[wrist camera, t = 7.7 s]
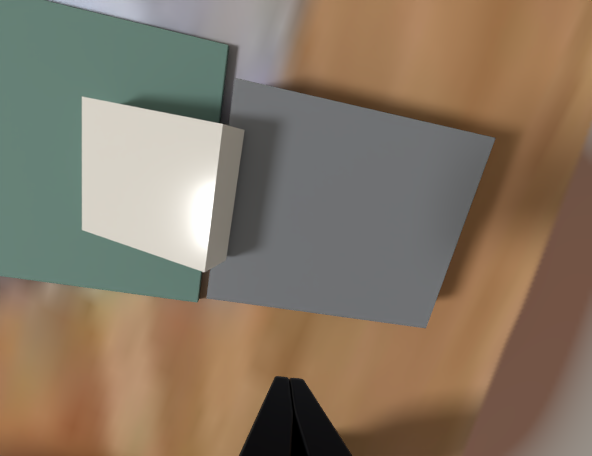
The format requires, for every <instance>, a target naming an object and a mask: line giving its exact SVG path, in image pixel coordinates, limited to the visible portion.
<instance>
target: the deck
mask: <svg viewBox="0 0 592 456" xmlns="http://www.w3.org/2000/svg"><path fill="white" fill-rule="evenodd" d="M229 126H232V127H236V128H239V129H243V130H245V131H244V138H243V145H242V152H241V159H240V166H239V173H238V180H237V187H236V194H235V201H234V208H233V215H232V222H231V229H230V236H229V243H228V250H227V257H226V260H225V261H224V262H222V263H220V264H218V265H217V266H215V267H213V268H211V269H210V275H209V283H208V291H207V298H208V299H216V300H223V301H230V302H238V303H245V304H252V305H260V306H267V307H274V308H282V309H289V310H296V311H304V312H311V313H318V314H325V315H333V316H340V317H347V318H355V319H362V320H369V321H377V322H384V323H391V324H399V325H406V326H413V327H421V328H426V326H427V324H428V321H429V318H430V316H431V313H432V310H433V307H434V305H435V302H436V299H437V296H438V294H439V291H440V288H441V285H442V283H443V280H444V277H445V275H446V272H447V269H448V266H449V264H450V261H451V258H452V255H453V253H454V250H455V247H456V245H457V242H458V239H459V236H460V234H461V231H462V228H463V225H464V223H465V220H466V217H467V214H468V212H469V209H470V206H471V204H472V201H473V198H474V195H475V193H476V190H477V187H478V184H479V182H480V179H481V176H482V174H483V171H484V168H485V165H486V163H487V160H488V157H489V154H490V152H491V149H492V146H493V143H494V141H495V138H494V137H489V136H485V135H481V134H476V133H472V132H468V131H463V130H459V129H455V128H450V127H446V126H442V125H437V124H433V123H428V122H424V121H420V120H415V119H411V118H407V117H402V116H398V115H394V114H389V113H385V112H381V111H376V110H372V109H368V108H363V107H359V106H355V105H350V104H346V103H342V102H337V101H333V100H329V99H324V98H320V97H316V96H311V95H307V94H302V93H298V92H294V91H289V90H285V89H281V88H276V87H272V86H268V85H263V84H259V83H255V82H250V81H246V80H242V79H237V78H235V79H234V87H233V94H232V102H231V110H230V118H229Z"/></svg>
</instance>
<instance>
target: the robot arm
mask: <svg viewBox="0 0 592 456" xmlns="http://www.w3.org/2000/svg"><path fill="white" fill-rule="evenodd" d="M239 456H352V454H351V453H350V451H349V450H348V448H347V447H346V445H345V443H344V442H343V440H342V439H341V437H340V436H339V434H338V433H337V431H336V429H335V428H334V426H333V425H332V423H331V422H330V420H329V419H328V417H327V416H326V414H325V412H324V411H323V409H322V408H321V406H320V405H319V403H318V402H317V400H316V398H315V397H314V395H313V394H312V392H311V391H310V389H309V388H308V386H307V384H306V383H305V381H304V380H303V379H299V378H290V379H288V378H287V377H280V376H276V377H275V378H274V380H273V382H272V384H271V387H270V389H269V391H268V393H267V395H266V398H265V400H264V402H263V404H262V406H261V408H260V411H259V413H258V415H257V417H256V419H255V422H254V424H253V426H252V428H251V430H250V433H249V435H248V437H247V439H246V441H245V444H244V446H243V448H242V450H241V452H240V454H239Z"/></svg>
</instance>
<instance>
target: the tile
mask: <svg viewBox="0 0 592 456" xmlns="http://www.w3.org/2000/svg"><path fill="white" fill-rule="evenodd" d="M244 131H245V130H243V129H239V128H236V127H232V126H228V125H225V124H220V123H215V122H210V121H205V120H200V119H195V118H189V117H184V116H179V115H174V114H169V113H164V112H159V111H154V110H148V109H143V108H138V107H133V106H128V105H123V104H118V103H113V102H108V101H102V100H97V99H92V98H87V97H82V230H84V231H86V232H89V233H92V234H95V235H98V236H101V237H104V238H107V239H110V240H112V241H115V242H118V243H121V244H124V245H127V246H130V247H133V248H136V249H138V250H141V251H144V252H147V253H150V254H153V255H156V256H159V257H162V258H165V259H167V260H170V261H173V262H176V263H179V264H182V265H185V266H188V267H191V268H193V269H196V270H199V271H202V272H206V271H208V270H210V269H211V268H213V267H215V266H217V265H218V264H220V263H222V262H224V261H225V260H226V257H227V250H228V243H229V236H230V229H231V222H232V215H233V208H234V201H235V194H236V187H237V180H238V173H239V166H240V159H241V152H242V145H243V138H244Z"/></svg>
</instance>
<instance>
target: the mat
mask: <svg viewBox="0 0 592 456" xmlns="http://www.w3.org/2000/svg"><path fill="white" fill-rule="evenodd" d="M228 52H229V46H228V45H226V44H222V43H218V42H214V41H210V40H206V39H201V38H197V37H193V36H189V35H185V34H181V33H177V32H173V31H169V30H164V29H160V28H156V27H152V26H148V25H144V24H140V23H136V22H132V21H127V20H123V19H119V18H115V17H111V16H107V15H103V14H99V13H95V12H90V11H86V10H82V9H78V8H74V7H70V6H66V5H62V4H58V3H53V2H49V1H45V0H0V276H5V277H12V278H20V279H27V280H35V281H42V282H49V283H57V284H64V285H72V286H79V287H87V288H94V289H102V290H109V291H116V292H124V293H131V294H139V295H146V296H154V297H161V298H168V299H176V300H183V301H191V302H198V300H199V294H200V286H201V277H202V271H199V270H196V269H193V268H191V267H188V266H185V265H182V264H179V263H176V262H173V261H170V260H167V259H165V258H162V257H159V256H156V255H153V254H150V253H147V252H144V251H141V250H138V249H136V248H133V247H130V246H127V245H124V244H121V243H118V242H115V241H112V240H110V239H107V238H104V237H101V236H98V235H95V234H92V233H89V232H86V231H84V230H82V97H87V98H92V99H97V100H102V101H108V102H113V103H118V104H123V105H128V106H133V107H138V108H143V109H148V110H154V111H159V112H164V113H169V114H174V115H179V116H184V117H189V118H195V119H200V120H205V121H210V122H215V123H220V119H221V110H222V102H223V94H224V85H225V77H226V69H227V60H228Z"/></svg>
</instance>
